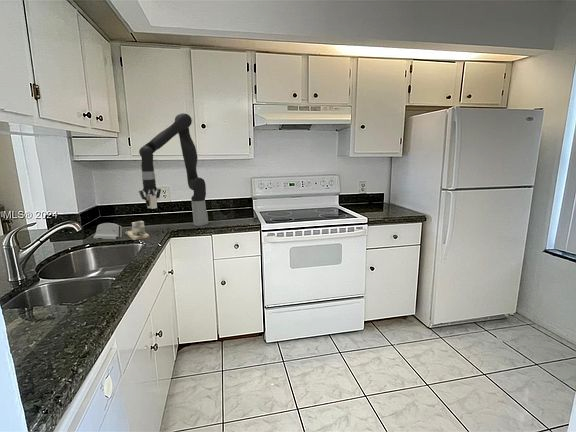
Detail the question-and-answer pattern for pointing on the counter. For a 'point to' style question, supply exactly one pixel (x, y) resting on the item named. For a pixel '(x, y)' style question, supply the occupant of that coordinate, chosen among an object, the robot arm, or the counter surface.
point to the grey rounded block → (108, 231)
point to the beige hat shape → (137, 231)
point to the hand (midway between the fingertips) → (151, 205)
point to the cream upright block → (152, 202)
